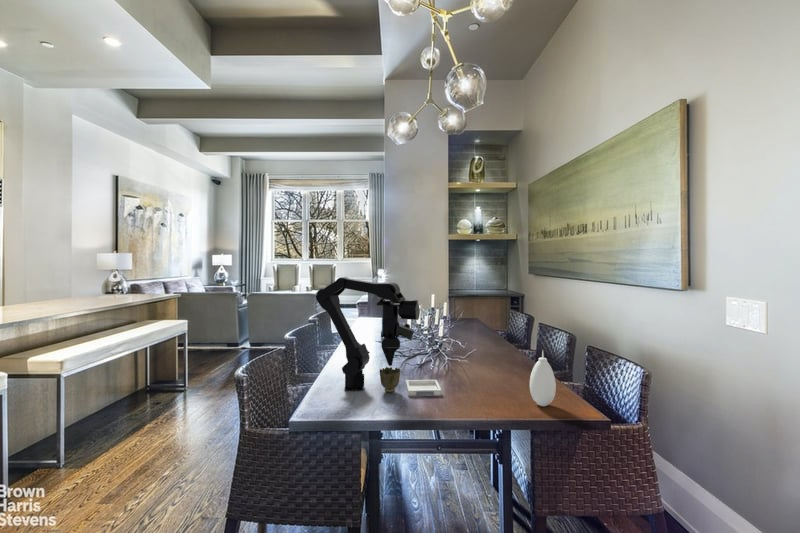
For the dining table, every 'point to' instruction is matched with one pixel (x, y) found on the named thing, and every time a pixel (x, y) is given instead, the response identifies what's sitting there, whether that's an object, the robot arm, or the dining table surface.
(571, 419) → the dining table surface
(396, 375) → the brown hollow flared piece
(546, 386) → the air blower bulb
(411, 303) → the robot arm
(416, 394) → the white tray
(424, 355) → the dining table surface
